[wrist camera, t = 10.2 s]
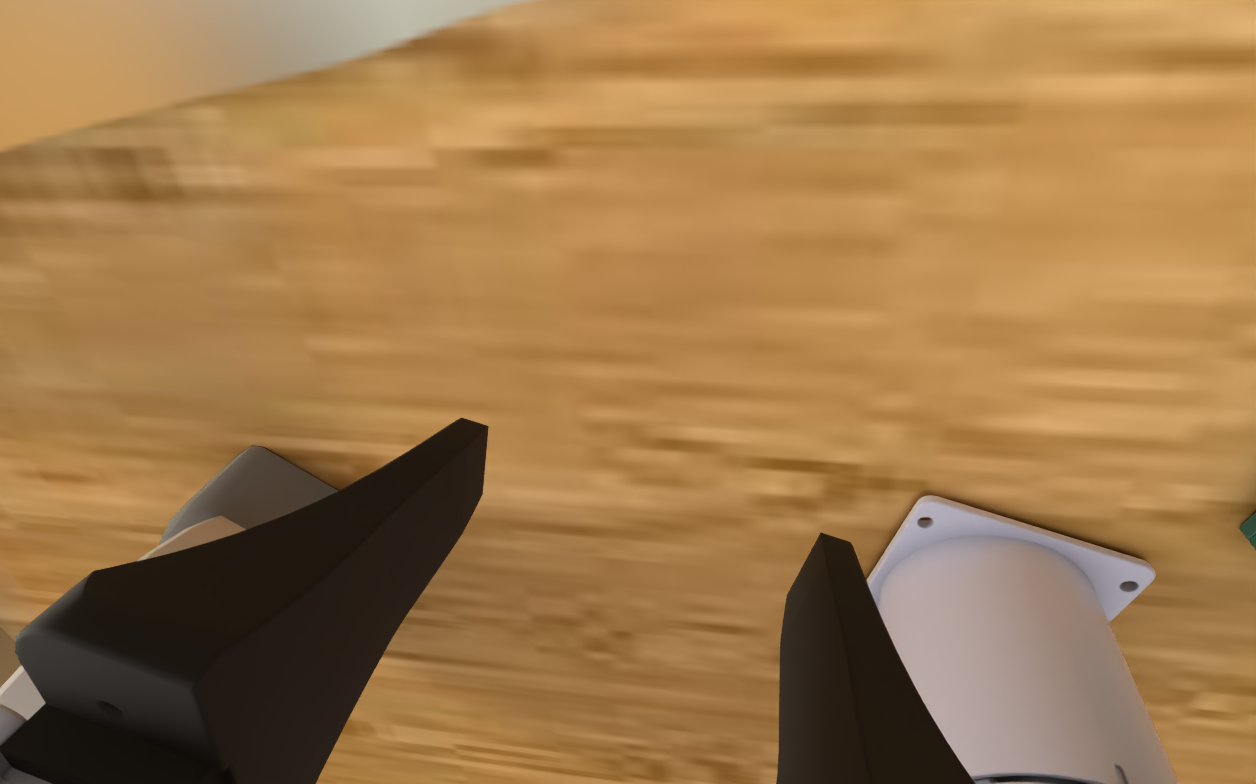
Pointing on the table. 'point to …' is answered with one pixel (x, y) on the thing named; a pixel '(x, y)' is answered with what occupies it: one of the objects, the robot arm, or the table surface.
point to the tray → (1250, 529)
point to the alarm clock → (211, 526)
